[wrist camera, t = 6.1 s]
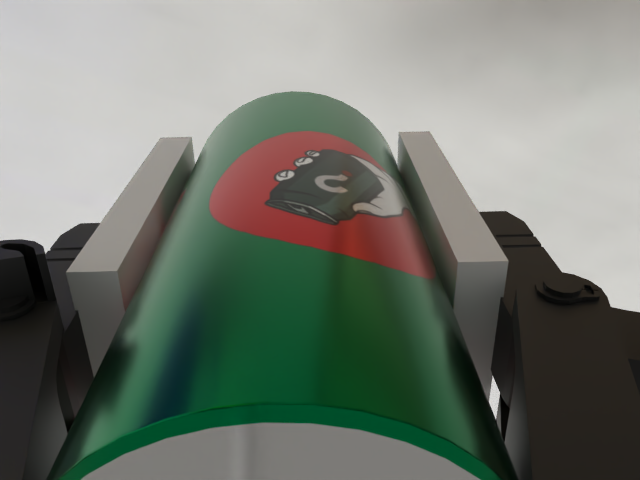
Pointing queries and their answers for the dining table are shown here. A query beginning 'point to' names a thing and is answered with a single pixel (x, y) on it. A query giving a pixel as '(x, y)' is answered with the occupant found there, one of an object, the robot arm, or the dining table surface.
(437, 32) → the dining table surface
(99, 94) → the dining table surface
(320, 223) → the soda can
